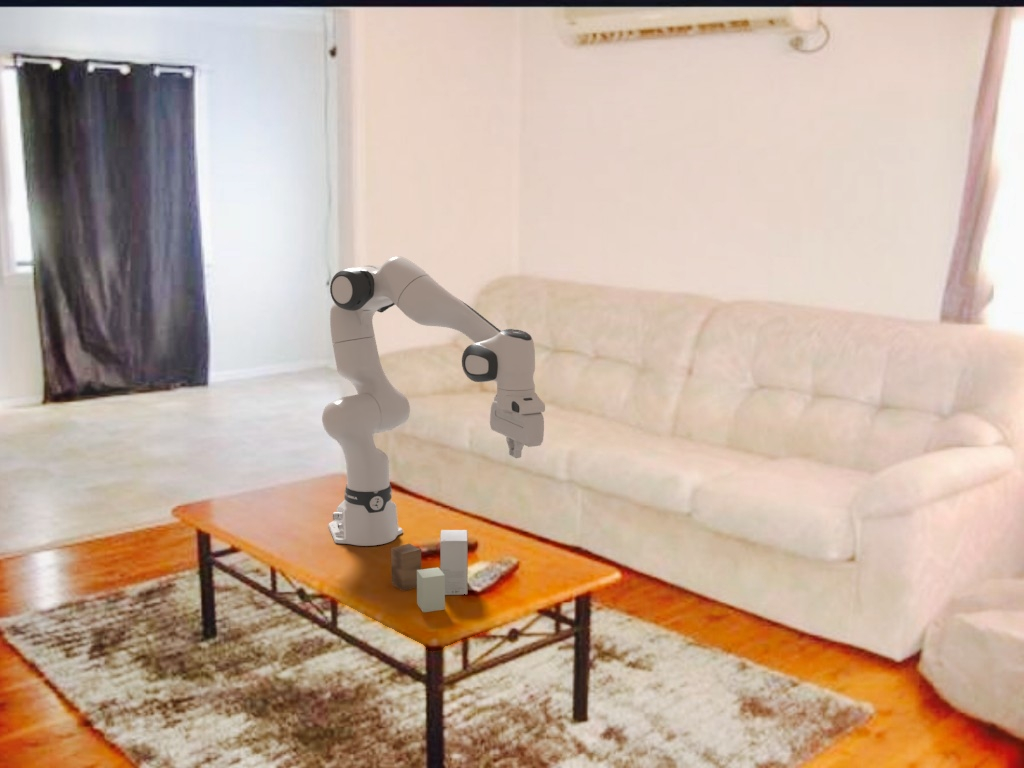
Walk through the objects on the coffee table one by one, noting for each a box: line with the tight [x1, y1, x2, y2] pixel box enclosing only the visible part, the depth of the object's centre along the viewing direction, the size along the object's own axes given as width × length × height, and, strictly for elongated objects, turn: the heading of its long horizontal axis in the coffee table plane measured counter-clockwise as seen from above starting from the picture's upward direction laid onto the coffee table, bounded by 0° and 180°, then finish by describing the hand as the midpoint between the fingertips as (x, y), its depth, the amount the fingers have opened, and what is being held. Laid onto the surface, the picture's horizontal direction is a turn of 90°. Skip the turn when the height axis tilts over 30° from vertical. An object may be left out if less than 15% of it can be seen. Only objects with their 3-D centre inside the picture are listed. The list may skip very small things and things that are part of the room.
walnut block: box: [390, 543, 422, 592], centre depth 241 cm, size 5×5×9 cm
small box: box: [439, 529, 469, 596], centre depth 239 cm, size 8×6×13 cm
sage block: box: [416, 566, 446, 613], centre depth 229 cm, size 5×5×8 cm
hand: (515, 456), depth 244 cm, fingers closed
